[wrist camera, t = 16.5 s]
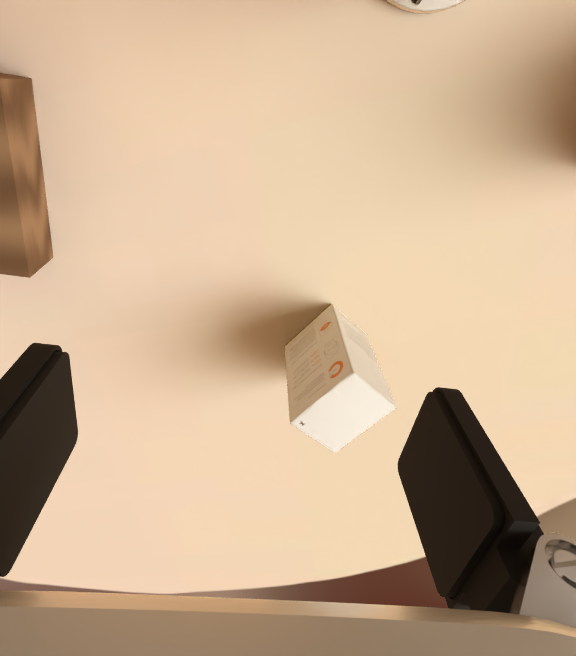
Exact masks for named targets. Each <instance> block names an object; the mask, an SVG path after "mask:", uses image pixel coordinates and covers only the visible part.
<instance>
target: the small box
mask: <svg viewBox="0 0 576 656" xmlns="http://www.w3.org/2000/svg"><path fill="white" fill-rule="evenodd" d="M284 348H285V361H286V375H287V388H288V402H289V416H290V424H292V425H293V426H295V427H296V428H298V429H299V430H301V431H302V432H304V433H305V434H307V435H308V436H310V437H311V438H313V439H314V440H316V441H317V442H319V443H320V444H322V445H323V446H325V447H326V448H328V449H329V450H331V451H332V452H334V453H336V452H338V451H339V450H340V449H342V448H343V447H344V446H346V445H347V444H348V443H350V442H351V441H352V440H354V439H355V438H356V437H358V436H359V435H360V434H362V433H363V432H364V431H366V430H367V429H369V428H370V427H371V426H372V425H374V424H375V423H377V422H378V421H379V420H381V419H382V418H383V417H385V416H386V415H387V414H389V413H390V412H392V411H393V410H394V409H396V405H395V403H394V400H393V397H392V395H391V393H390V390H389V388H388V385H387V382H386V380H385V378H384V375H383V373H382V370H381V368H380V365H379V363H378V360H377V357H376V355H375V352H374V350H373V348H372V345H371V343H370V340H369V338H368V335H367V334H366V333H365V332H364V331H363V330H361V329H360V328H359V327H358V326H357V325H356V324H355V323H353V322H352V321H351V320H350V319H349V318H348V317H347V316H345V315H344V314H343V313H342V312H341V311H340V310H339V309H337V308H336V307H335V306H334V305H333V304H331V305H330V306H329V307H328V308H326V309H325V310H324V311H323V312H322V313H321V314H320V315H319V316H318V317H317V318H315V319H314V320H313V321H312V322H311V323H310V324H309V325H308V326H307V327H306V328H304V329H303V330H302V331H301V332H300V333H299V334H298V335H297V336H296V337H295V338H294V339H293V340H291V341H290V342H289V343H288V344H287V345H286V346H285V347H284Z"/></svg>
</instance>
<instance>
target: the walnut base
mask: <svg viewBox="0 0 576 656" xmlns="http://www.w3.org/2000/svg"><path fill="white" fill-rule="evenodd" d="M52 258H53V251H52V243H51V235H50V227H49V218H48V210H47V202H46V194H45V186H44V177H43V169H42V161H41V153H40V145H39V136H38V128H37V120H36V112H35V104H34V95H33V87H32V79H30V78H25V77H19V76H14V75H8V74H3V73H0V274H6V275H14V276H21V277H29V278H30V277H31V276H32V275H33V274H35V273H36V272H37V271H38V270H39V269H40V268H42V267H43V266H44V265H45V264H46V263H47V262H48V261H50V260H51V259H52Z"/></svg>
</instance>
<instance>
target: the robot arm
mask: <svg viewBox="0 0 576 656" xmlns="http://www.w3.org/2000/svg"><path fill="white" fill-rule="evenodd" d="M386 1H387V2H389V3H391V4H393V5H394V6H396V7H398V8H399V9H403V10H406V11H410V12H413V13H432V12H437V11H442V10H445V9H448V8H451V7H454V6H456V5H458V4H459V3H461V2H463V1H465V0H416V2H415V3H412V1H411V0H386ZM77 436H78V428H77V419H76V411H75V402H74V394H73V385H72V376H71V368H70V359H69V355H68V353H67V352H62V349H61V347H60V346H58V345H50V344H41V343H32V344H31V345H30V346H29V347H28V348H27V349H26V351H25V352H24V353H23V354H22V355H21V356H20V357H19V359H18V360H17V361H16V362H15V363H14V364H13V366H12V367H11V368H10V369H9V370H8V371H7V372H6V374H5V375H4V376H3V377H2V378H1V379H0V576H1V577H4V576H6V575H7V574H8V573H9V572H10V570H11V568H12V566H13V564H14V562H15V561H16V559H17V557H18V555H19V553H20V551H21V549H22V547H23V545H24V543H25V541H26V539H27V537H28V535H29V533H30V532H31V530H32V528H33V526H34V524H35V522H36V520H37V518H38V516H39V514H40V512H41V510H42V508H43V506H44V504H45V503H46V501H47V499H48V497H49V495H50V493H51V491H52V489H53V487H54V485H55V483H56V481H57V479H58V477H59V475H60V474H61V472H62V470H63V468H64V466H65V464H66V462H67V460H68V458H69V456H70V454H71V452H72V450H73V448H74V446H75V444H76V441H77ZM398 472H399V476H400V479H401V482H402V485H403V488H404V491H405V494H406V497H407V500H408V503H409V506H410V509H411V512H412V515H413V518H414V521H415V524H416V527H417V530H418V533H419V536H420V539H421V543H422V546H423V549H424V552H425V555H426V558H427V561H428V564H429V567H430V570H431V573H432V576H433V579H434V582H435V585H436V588H437V591H438V593H439V594H440V596H442V597H445V599H446V602H447V605H448V608H449V609H447V608H433V607H413V606H394V605H373V604H353V603H330V602H309V601H286V600H265V599H241V598H218V597H193V596H168V595H142V594H116V593H115V594H114V593H88V592H57V591H8V590H7V591H6V590H4V591H3V590H0V656H576V540H574V539H572V538H570V537H568V536H566V535H562V534H558V533H546V534H544V533H543V532H542V530H541V528H540V527H539V524H540V522H539V520H538V518H537V517H536V515H535V513H534V512H533V510H532V509H531V507H530V505H529V504H528V502H527V500H526V499H525V497H524V495H523V494H522V492H521V490H520V489H519V487H518V485H517V484H516V482H515V481H514V479H513V477H512V476H511V474H510V472H509V471H508V469H507V467H506V466H505V464H504V462H503V461H502V459H501V458H500V456H499V454H498V453H497V451H496V449H495V448H494V446H493V444H492V443H491V441H490V439H489V438H488V436H487V434H486V433H485V431H484V430H483V428H482V426H481V425H480V423H479V421H478V420H477V418H476V416H475V415H474V413H473V411H472V410H471V408H470V406H469V405H468V403H467V402H466V400H465V398H464V397H463V395H462V393H461V392H460V391H459V390H457V389H448V388H439V387H438V388H435V389H434V390H433V392H429V393H428V394H427V395H426V397H425V400H424V402H423V404H422V407H421V409H420V411H419V414H418V416H417V418H416V420H415V423H414V425H413V427H412V430H411V432H410V434H409V437H408V439H407V441H406V444H405V446H404V448H403V451H402V453H401V455H400V458H399V461H398Z"/></svg>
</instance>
